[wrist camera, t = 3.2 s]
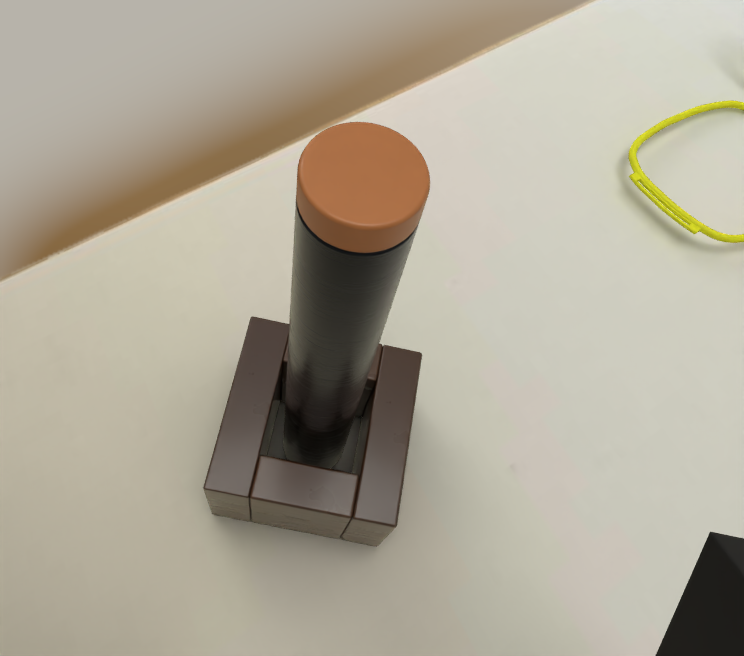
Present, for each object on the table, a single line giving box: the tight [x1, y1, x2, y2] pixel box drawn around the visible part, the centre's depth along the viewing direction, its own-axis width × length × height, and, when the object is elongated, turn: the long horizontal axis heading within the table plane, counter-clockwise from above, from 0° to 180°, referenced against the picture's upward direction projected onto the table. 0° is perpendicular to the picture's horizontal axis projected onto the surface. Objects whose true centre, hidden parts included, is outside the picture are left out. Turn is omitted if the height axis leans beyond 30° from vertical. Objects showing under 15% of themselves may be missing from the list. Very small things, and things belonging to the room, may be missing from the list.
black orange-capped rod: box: [283, 122, 430, 469], centre depth 19 cm, size 2×2×16 cm
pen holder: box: [203, 317, 422, 546], centre depth 24 cm, size 6×6×4 cm
